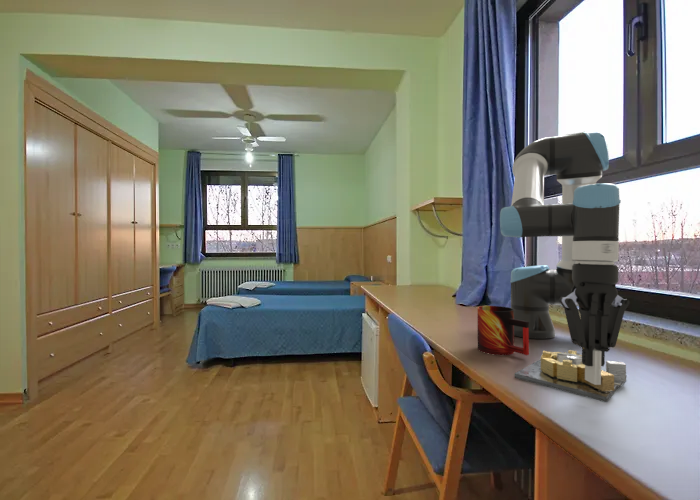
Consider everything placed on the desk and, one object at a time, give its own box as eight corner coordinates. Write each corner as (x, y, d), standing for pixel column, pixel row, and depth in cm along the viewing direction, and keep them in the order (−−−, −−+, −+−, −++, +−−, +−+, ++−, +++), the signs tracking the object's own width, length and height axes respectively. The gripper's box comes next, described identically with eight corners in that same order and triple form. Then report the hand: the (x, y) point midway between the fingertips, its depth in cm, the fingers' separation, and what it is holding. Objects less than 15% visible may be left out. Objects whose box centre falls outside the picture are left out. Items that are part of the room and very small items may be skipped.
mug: (528, 360, 91) (528, 314, 91) (474, 351, 98) (473, 309, 98) (532, 351, 99) (532, 308, 99) (481, 344, 107) (481, 304, 107)
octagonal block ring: (531, 365, 82) (531, 349, 82) (573, 363, 84) (573, 348, 84) (582, 392, 67) (582, 372, 67) (633, 389, 68) (633, 370, 68)
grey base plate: (543, 361, 90) (543, 342, 90) (630, 380, 76) (630, 357, 76) (514, 377, 78) (514, 355, 78) (611, 403, 65) (611, 376, 65)
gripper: (575, 263, 65) (573, 389, 65) (642, 264, 66) (640, 389, 65) (551, 261, 73) (549, 375, 73) (611, 263, 73) (609, 375, 73)
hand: (592, 382), depth 69 cm, fingers closed
